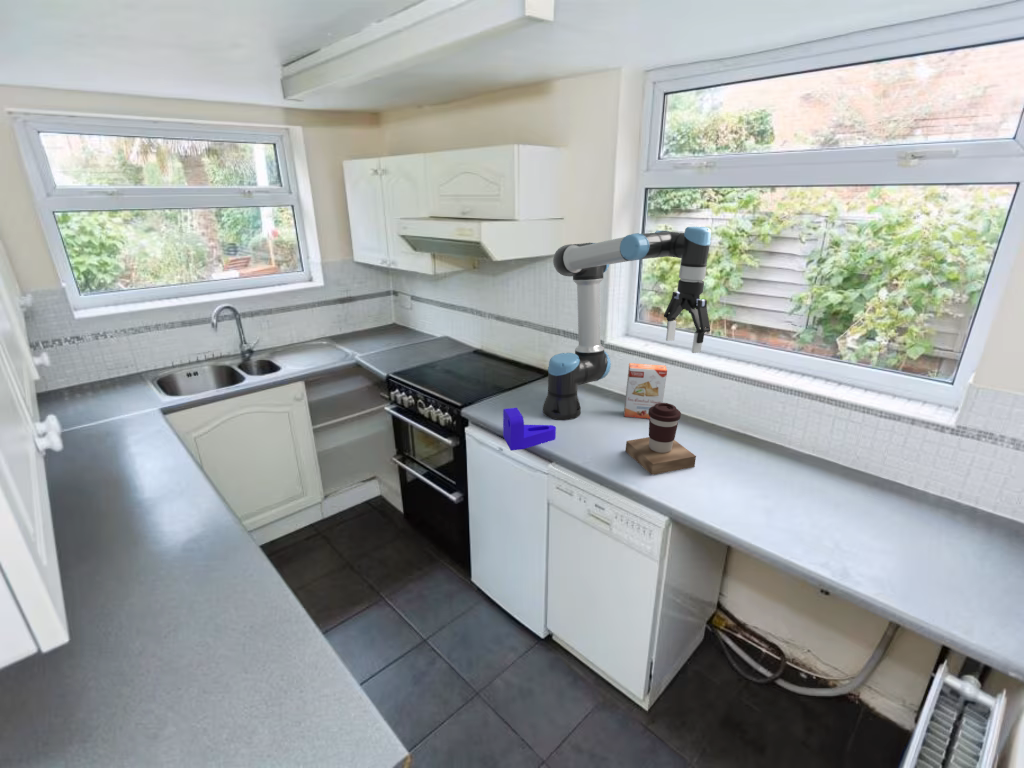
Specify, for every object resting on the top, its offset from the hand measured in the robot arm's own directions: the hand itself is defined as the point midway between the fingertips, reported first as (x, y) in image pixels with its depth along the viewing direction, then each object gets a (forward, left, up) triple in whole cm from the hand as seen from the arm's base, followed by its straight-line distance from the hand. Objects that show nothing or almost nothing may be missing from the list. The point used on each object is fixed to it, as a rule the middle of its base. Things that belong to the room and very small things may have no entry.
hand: (682, 346), depth 162 cm
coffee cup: (+6, -8, -33) cm, 34 cm away
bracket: (-20, -44, -37) cm, 61 cm away
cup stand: (+6, -8, -37) cm, 38 cm away
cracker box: (-25, +5, -37) cm, 45 cm away
